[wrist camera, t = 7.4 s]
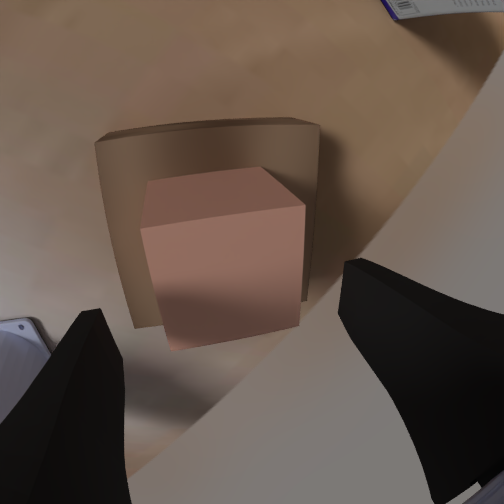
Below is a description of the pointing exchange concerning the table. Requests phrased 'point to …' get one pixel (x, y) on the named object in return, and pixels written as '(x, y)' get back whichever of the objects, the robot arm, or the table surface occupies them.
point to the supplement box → (439, 7)
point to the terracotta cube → (224, 255)
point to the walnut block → (195, 162)
